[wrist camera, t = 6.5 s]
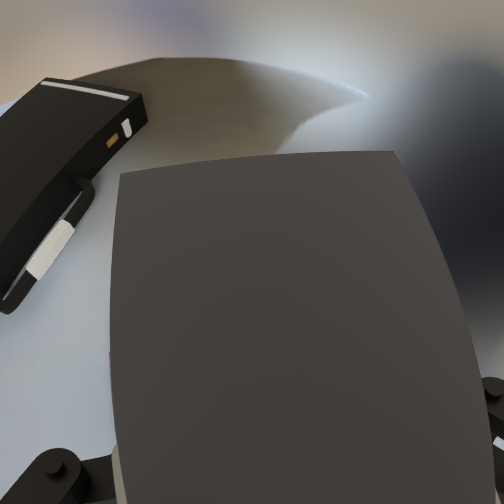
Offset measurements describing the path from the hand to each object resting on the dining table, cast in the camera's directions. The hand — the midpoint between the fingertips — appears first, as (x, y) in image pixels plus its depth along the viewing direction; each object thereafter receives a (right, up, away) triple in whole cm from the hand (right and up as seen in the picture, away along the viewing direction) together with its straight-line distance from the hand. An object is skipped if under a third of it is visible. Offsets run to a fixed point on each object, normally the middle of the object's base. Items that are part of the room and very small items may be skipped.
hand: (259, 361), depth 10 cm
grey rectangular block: (0, -4, +4) cm, 5 cm away
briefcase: (-34, +8, +25) cm, 43 cm away
